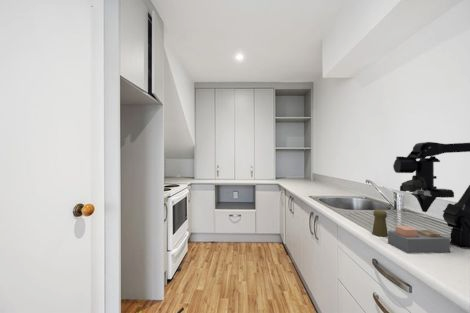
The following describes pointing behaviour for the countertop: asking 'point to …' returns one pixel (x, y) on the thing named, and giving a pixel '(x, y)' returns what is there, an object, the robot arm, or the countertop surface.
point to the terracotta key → (406, 231)
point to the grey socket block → (419, 243)
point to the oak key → (428, 233)
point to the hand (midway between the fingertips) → (424, 211)
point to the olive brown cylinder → (380, 223)
